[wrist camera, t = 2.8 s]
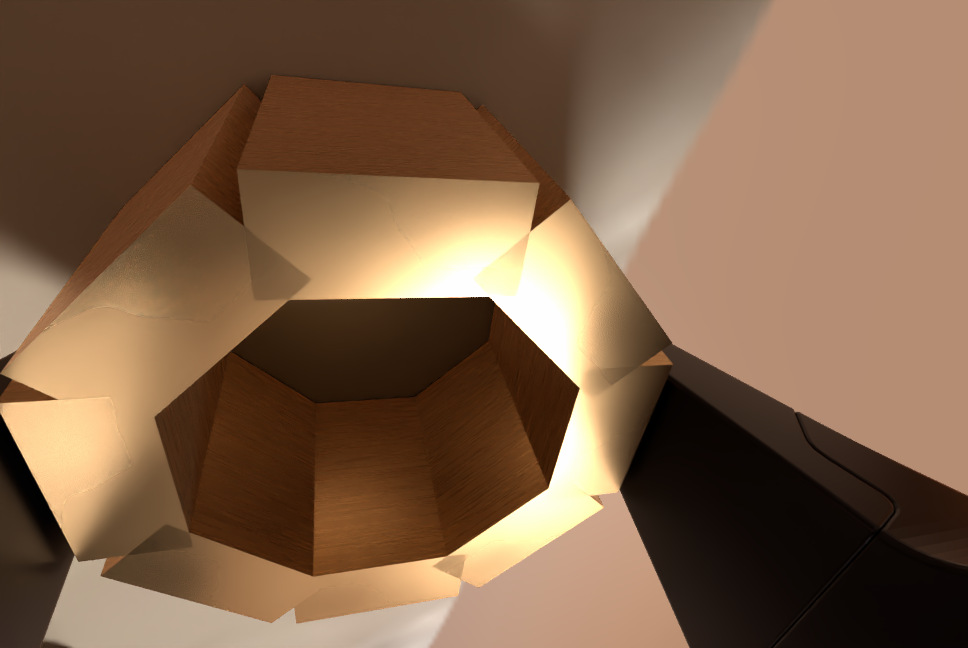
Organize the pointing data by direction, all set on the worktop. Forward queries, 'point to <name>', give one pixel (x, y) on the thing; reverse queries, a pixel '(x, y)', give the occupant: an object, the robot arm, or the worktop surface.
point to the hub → (337, 425)
